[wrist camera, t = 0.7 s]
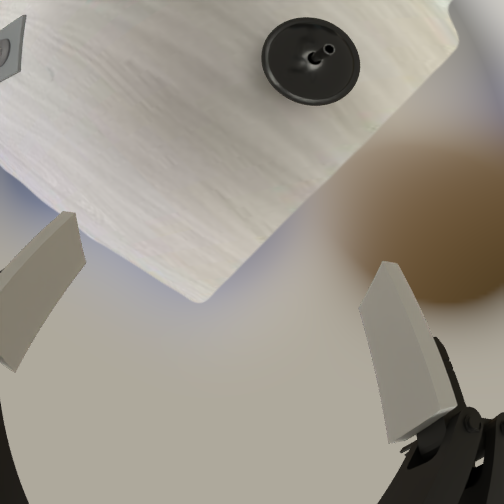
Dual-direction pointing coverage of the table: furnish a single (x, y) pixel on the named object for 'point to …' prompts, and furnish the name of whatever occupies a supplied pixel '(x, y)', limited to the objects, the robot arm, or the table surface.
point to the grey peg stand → (11, 48)
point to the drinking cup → (310, 61)
